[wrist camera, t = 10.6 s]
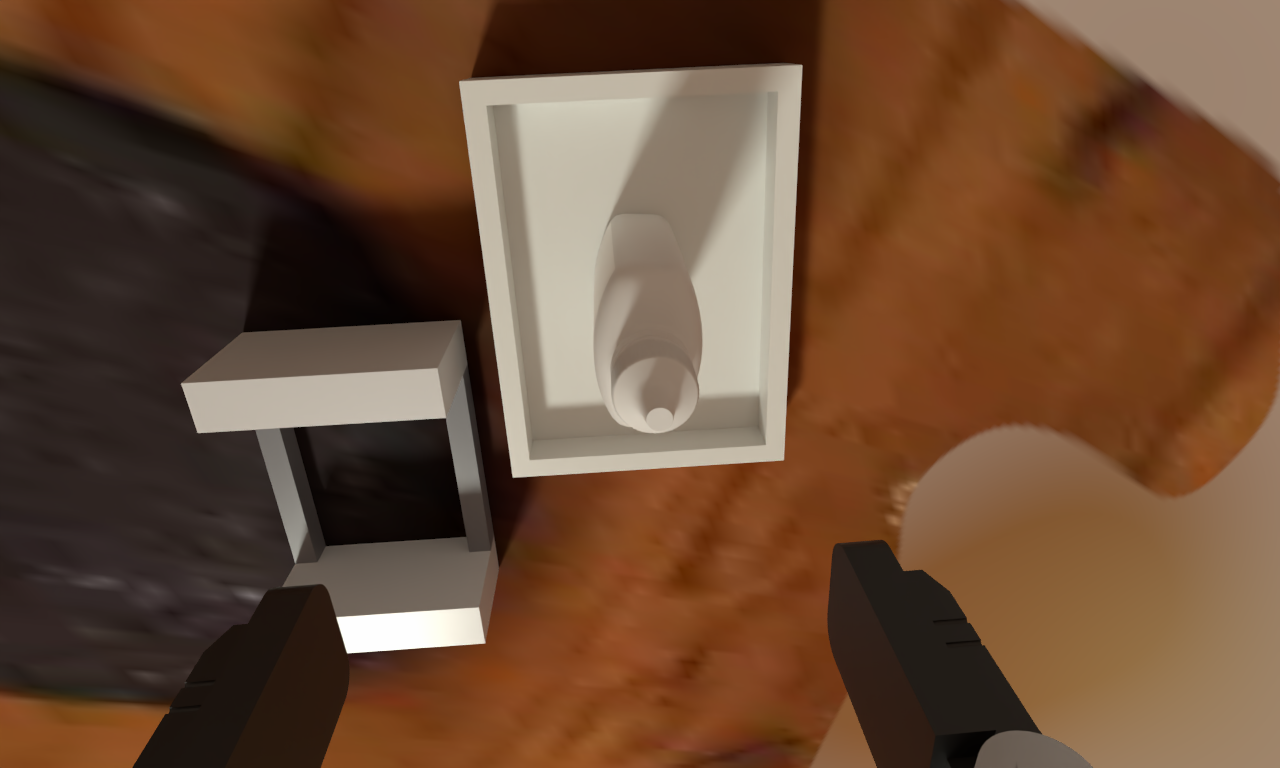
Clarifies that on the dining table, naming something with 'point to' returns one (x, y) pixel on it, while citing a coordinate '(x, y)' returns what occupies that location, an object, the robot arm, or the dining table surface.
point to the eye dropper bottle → (645, 325)
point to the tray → (637, 184)
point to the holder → (362, 393)
